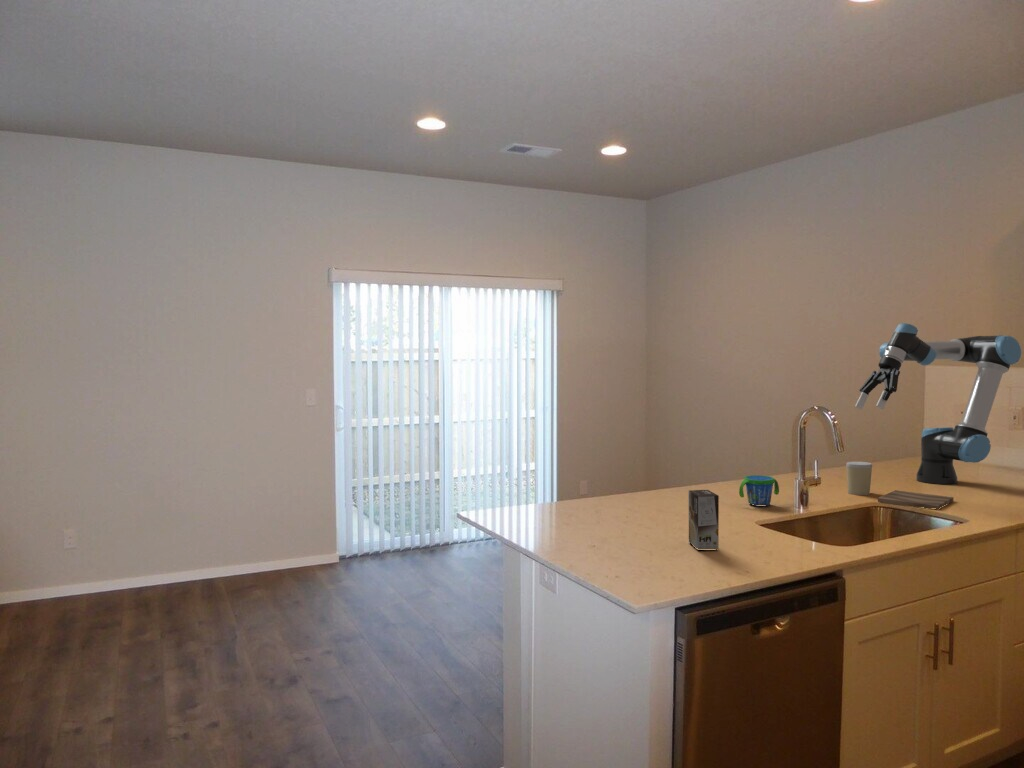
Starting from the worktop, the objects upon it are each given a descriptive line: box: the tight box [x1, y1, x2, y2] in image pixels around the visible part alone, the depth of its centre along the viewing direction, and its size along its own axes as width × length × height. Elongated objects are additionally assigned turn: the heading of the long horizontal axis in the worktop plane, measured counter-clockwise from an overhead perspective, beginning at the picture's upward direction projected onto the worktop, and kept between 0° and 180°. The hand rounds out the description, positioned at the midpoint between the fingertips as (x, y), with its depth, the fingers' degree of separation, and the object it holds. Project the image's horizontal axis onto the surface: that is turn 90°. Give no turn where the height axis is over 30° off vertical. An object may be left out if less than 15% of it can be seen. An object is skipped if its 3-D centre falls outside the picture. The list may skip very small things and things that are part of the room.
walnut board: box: [877, 489, 955, 510], centre depth 271 cm, size 20×20×2 cm
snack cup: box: [738, 474, 780, 506], centre depth 268 cm, size 16×10×10 cm
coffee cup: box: [845, 461, 873, 496], centre depth 287 cm, size 9×9×12 cm
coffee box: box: [688, 489, 720, 550], centre depth 213 cm, size 9×6×16 cm
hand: (868, 407), depth 283 cm, fingers open, 13 cm apart
